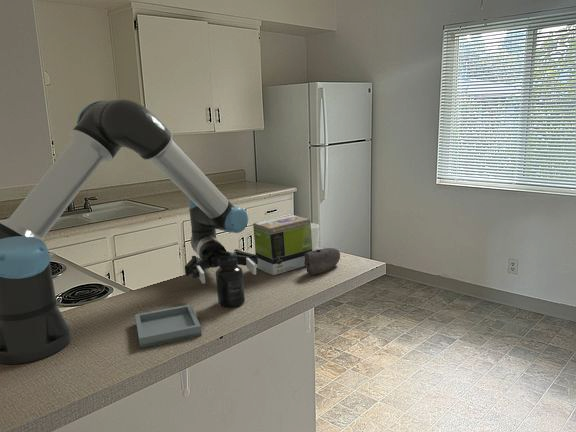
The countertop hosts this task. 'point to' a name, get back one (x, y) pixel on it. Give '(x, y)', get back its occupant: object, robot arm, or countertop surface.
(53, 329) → the robot arm
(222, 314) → the countertop surface
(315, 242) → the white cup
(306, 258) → the perforated stone tool
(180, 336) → the tray
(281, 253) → the tea box
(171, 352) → the countertop surface
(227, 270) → the supplement bottle
